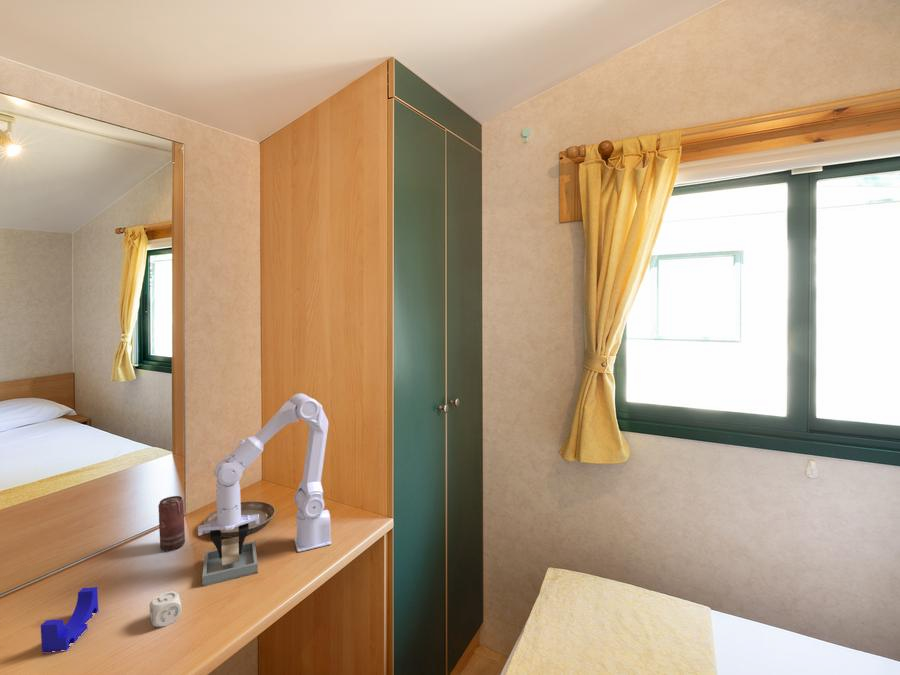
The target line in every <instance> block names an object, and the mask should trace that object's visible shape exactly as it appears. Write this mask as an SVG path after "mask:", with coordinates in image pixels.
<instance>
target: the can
mask: <svg viewBox="0 0 900 675" xmlns="http://www.w3.org/2000/svg"><path fill="white" fill-rule="evenodd" d="M184 504H185V503H184V499H183V498H182V496H180V495H173V496H172V495H171V496H168V497H164V498H163V499H161V500H160V501H159V503H158V525H159V526H158V528H159V529H158V530H159V548H160V550H161V551H163V552H172V551H176V550H179V549H181V548H182V547H184V544H185V543H186V536H185V534H186V533H185V510H184V508H185V506H184Z"/></svg>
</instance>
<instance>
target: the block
mask: <svg viewBox="0 0 900 675" xmlns="http://www.w3.org/2000/svg"><path fill="white" fill-rule="evenodd" d="M221 542H222V565H227V564H231V563H235V562H239V536H238V537H228V538H225V539H221Z"/></svg>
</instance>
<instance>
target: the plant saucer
mask: <svg viewBox="0 0 900 675" xmlns="http://www.w3.org/2000/svg"><path fill="white" fill-rule="evenodd" d="M275 513H276V509H275V507H274V505H272V504H270V503H268V502H265V501H253V500H252V501H243V502H242V501H241V516H242V515H256V514H259V524H250V525H249V530H248V533H247V535H250V534H252V533H256V532H257V531H260V530H261V529H262V528H264V527H266V525H268V524H269V523H270V521H271V520H272V518H273V517H274V515H275ZM265 514H267V515H268V516H267V517H266V515H265ZM216 520H217V509H216V510H214V511H212V512H211V513H209V514H208V515H207V516H206V518H205V519H204V521H203V524H207V523H210V522H213V521H216ZM222 537H223V538H234V537H238V538H239V529H238V527H235V528H234V529H232V530H227V531H225V530H221V538H222Z"/></svg>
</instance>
